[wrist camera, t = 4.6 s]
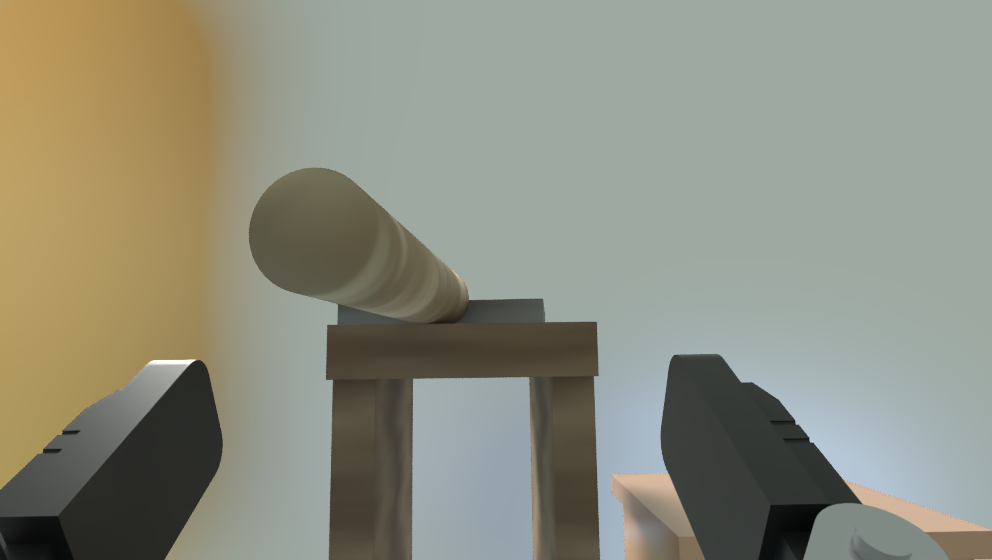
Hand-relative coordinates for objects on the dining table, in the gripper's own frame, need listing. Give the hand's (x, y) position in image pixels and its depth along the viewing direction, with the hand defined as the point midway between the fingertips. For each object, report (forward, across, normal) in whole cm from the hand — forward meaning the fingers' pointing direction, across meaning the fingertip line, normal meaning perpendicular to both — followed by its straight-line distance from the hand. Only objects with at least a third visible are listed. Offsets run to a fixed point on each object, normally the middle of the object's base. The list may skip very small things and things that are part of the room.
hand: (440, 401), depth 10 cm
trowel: (+12, +1, +5) cm, 13 cm away
